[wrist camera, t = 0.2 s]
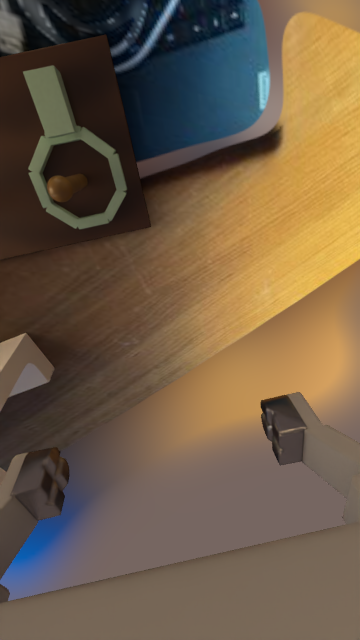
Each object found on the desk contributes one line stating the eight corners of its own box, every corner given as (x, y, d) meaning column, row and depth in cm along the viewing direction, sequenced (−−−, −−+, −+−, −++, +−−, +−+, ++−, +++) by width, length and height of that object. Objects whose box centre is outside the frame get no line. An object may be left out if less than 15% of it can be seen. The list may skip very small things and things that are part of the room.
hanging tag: (-4, 85, 29) (-16, 79, 27) (95, 64, 29) (91, 56, 27) (56, 232, 37) (51, 237, 35) (134, 216, 37) (133, 219, 35)
